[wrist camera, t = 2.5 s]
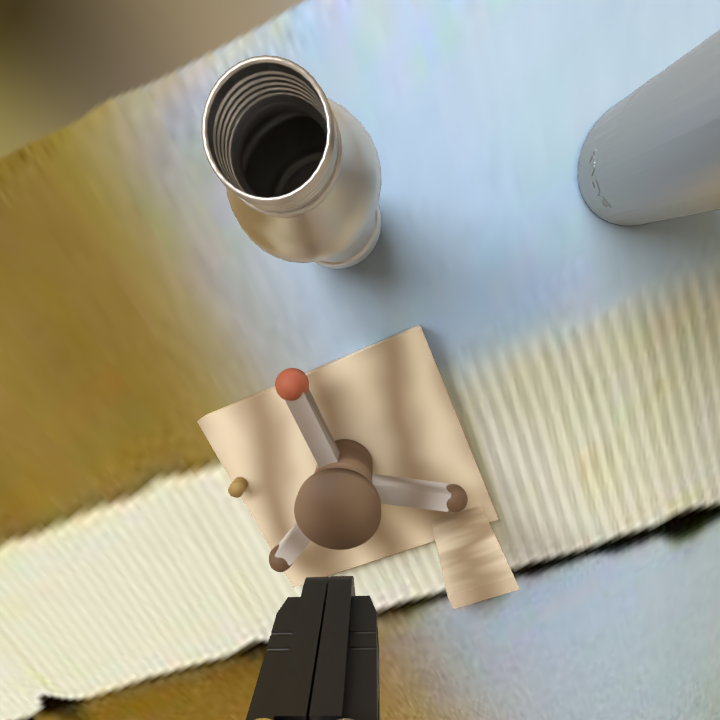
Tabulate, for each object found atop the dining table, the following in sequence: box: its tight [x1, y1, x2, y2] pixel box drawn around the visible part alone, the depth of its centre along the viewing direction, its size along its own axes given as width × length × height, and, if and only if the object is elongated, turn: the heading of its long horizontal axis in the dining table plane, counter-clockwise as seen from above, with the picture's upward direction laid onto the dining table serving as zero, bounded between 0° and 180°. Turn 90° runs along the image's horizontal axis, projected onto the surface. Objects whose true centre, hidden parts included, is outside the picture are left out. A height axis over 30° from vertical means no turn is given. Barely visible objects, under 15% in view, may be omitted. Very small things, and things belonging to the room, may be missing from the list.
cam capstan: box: [269, 368, 468, 572], centre depth 28 cm, size 18×16×7 cm
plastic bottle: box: [202, 55, 381, 269], centre depth 19 cm, size 6×7×20 cm
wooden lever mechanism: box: [197, 325, 519, 609], centre depth 29 cm, size 22×20×10 cm
